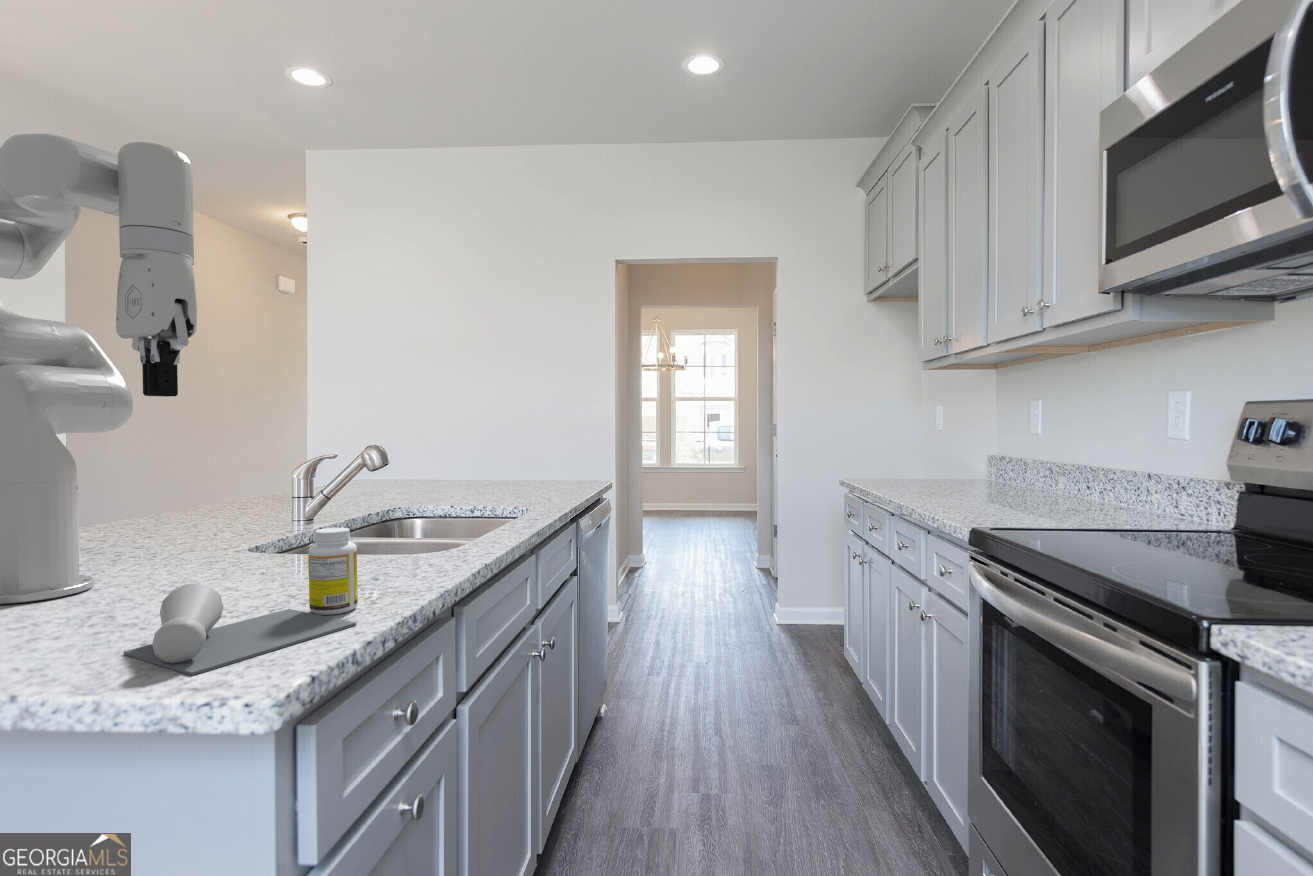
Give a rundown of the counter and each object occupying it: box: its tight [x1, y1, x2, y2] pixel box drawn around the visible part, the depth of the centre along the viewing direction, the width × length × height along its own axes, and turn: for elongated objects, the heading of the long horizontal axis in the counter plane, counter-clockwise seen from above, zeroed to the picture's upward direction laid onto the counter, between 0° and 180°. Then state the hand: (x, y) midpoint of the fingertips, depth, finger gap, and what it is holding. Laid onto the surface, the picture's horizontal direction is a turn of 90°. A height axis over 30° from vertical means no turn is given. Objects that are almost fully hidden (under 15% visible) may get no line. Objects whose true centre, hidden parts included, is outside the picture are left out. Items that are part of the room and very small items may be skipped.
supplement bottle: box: [307, 527, 359, 616], centre depth 87 cm, size 6×6×10 cm
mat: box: [123, 608, 357, 676], centre depth 76 cm, size 12×18×1 cm
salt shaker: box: [151, 582, 224, 664], centre depth 72 cm, size 6×6×13 cm
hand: (160, 395), depth 86 cm, fingers closed
